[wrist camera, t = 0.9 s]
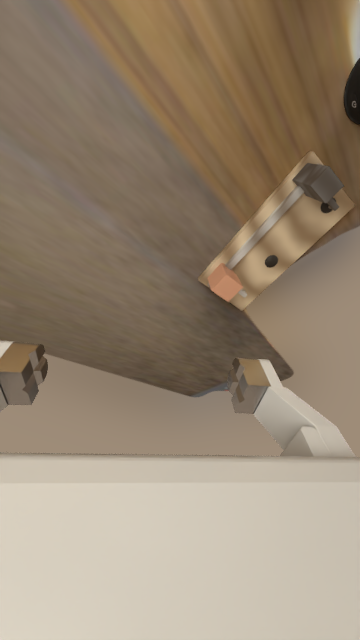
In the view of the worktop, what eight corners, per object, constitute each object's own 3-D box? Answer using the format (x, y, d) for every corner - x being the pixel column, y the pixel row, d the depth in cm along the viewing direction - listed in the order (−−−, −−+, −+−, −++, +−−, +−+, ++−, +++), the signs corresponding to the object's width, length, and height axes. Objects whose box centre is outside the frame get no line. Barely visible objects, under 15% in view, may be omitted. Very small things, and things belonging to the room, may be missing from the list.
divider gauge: (308, 151, 39) (336, 153, 33) (350, 203, 44) (381, 214, 38) (198, 277, 52) (202, 296, 46) (240, 307, 57) (249, 328, 51)
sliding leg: (219, 260, 48) (226, 274, 43) (251, 284, 51) (260, 299, 46) (206, 275, 50) (211, 290, 45) (237, 297, 53) (244, 313, 48)
